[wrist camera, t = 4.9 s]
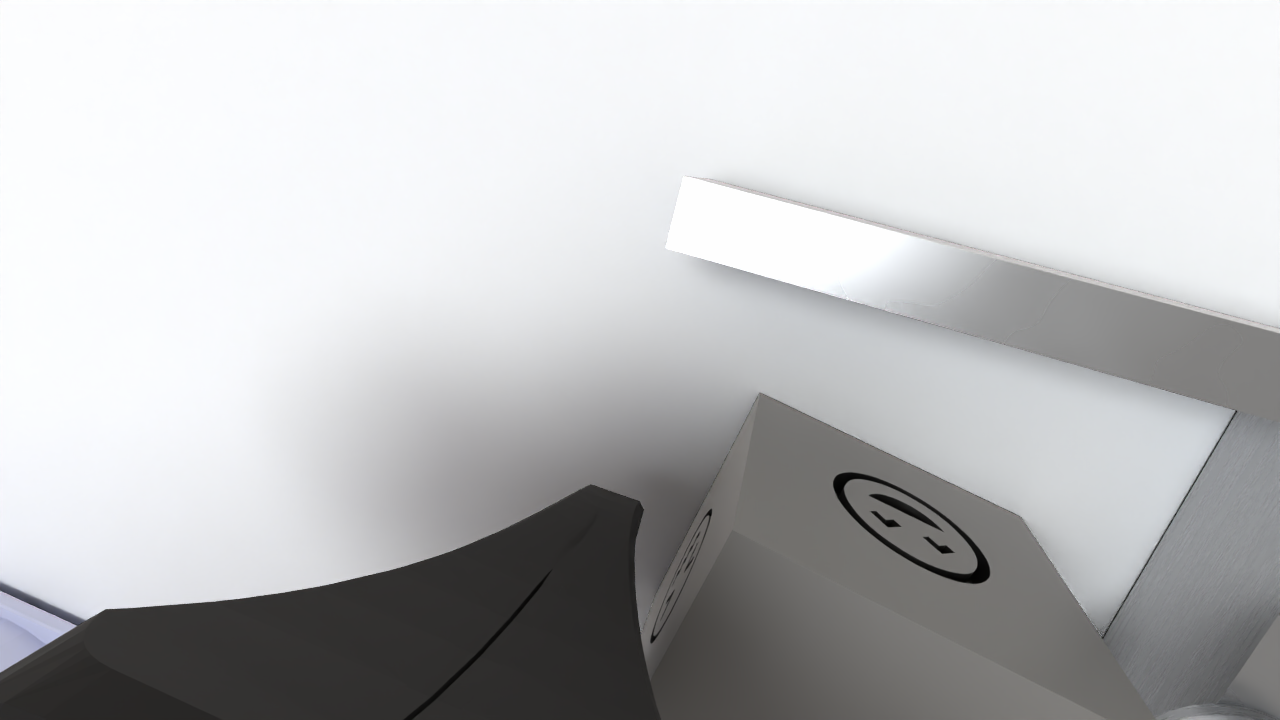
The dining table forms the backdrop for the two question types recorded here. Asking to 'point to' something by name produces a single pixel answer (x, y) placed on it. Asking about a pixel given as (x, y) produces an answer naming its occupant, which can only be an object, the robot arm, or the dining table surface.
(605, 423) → the dining table surface
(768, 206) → the bar
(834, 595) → the dice cube
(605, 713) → the robot arm
